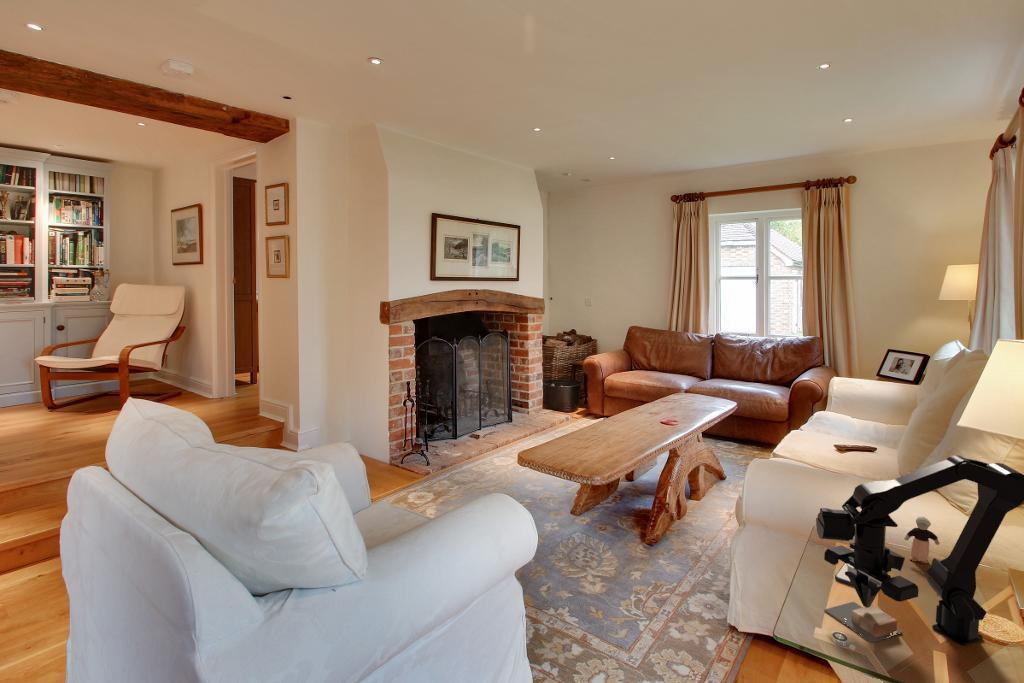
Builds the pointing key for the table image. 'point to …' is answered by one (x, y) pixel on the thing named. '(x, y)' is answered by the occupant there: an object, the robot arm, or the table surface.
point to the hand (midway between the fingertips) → (866, 606)
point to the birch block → (874, 621)
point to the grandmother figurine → (921, 540)
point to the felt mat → (846, 612)
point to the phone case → (843, 575)
